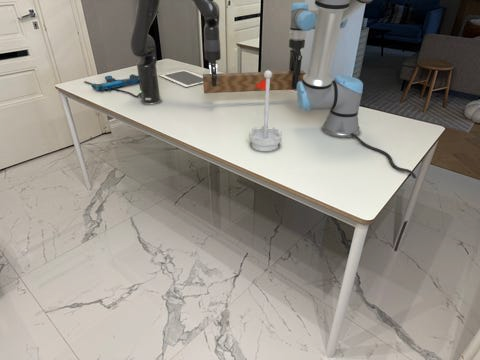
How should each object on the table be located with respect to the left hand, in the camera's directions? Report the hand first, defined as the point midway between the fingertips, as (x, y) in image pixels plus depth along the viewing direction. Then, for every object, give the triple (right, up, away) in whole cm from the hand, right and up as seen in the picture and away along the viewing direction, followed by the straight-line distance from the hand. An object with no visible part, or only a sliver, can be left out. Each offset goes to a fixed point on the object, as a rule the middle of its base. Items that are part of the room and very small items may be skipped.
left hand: (213, 84), depth 170 cm
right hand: (+41, 0, +6) cm, 41 cm away
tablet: (-22, +17, +46) cm, 54 cm away
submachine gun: (-60, +12, +39) cm, 73 cm away
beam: (+20, -2, +4) cm, 21 cm away
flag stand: (+23, -34, -31) cm, 52 cm away
